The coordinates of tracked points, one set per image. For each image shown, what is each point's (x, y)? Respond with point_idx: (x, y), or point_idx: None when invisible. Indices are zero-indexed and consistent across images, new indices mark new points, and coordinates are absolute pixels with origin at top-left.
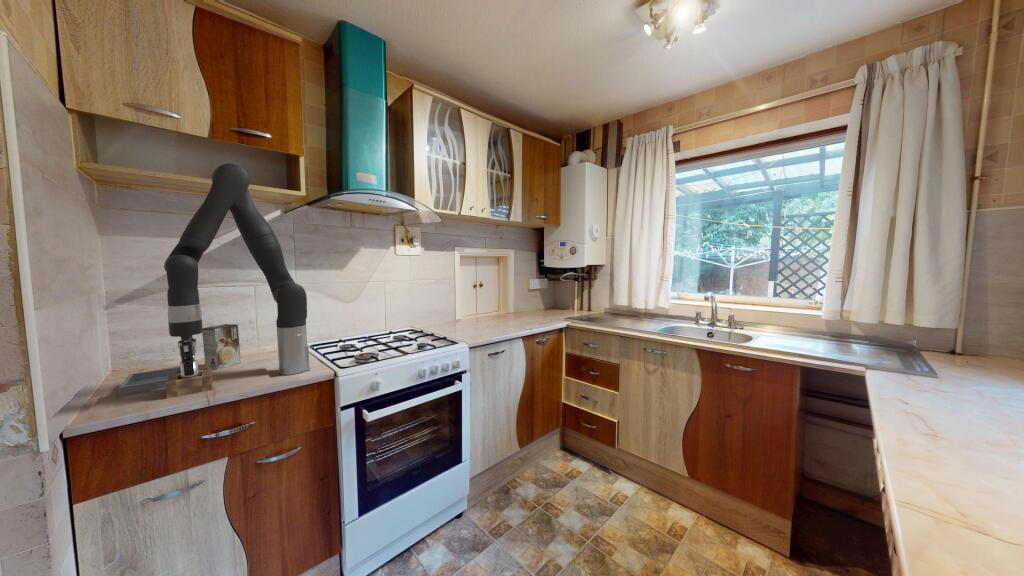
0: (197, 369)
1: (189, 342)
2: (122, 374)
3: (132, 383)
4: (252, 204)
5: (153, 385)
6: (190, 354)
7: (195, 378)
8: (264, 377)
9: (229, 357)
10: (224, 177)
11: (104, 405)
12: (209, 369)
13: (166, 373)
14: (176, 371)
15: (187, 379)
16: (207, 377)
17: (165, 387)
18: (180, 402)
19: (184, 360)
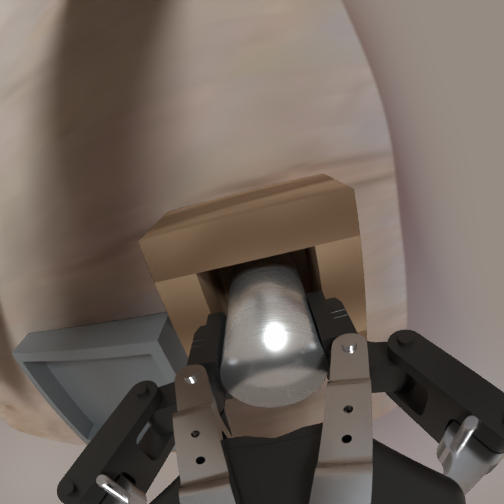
0: (278, 293)
1: (461, 491)
2: (36, 428)
3: None
4: None
5: None
6: (466, 375)
7: (362, 261)
8: (162, 6)
9: None
10: None
11: (266, 427)
12: (159, 246)
13: (52, 384)
14: (38, 366)
15: (355, 295)
16: (353, 205)
17: (186, 363)
18: (380, 262)
19: (414, 379)
